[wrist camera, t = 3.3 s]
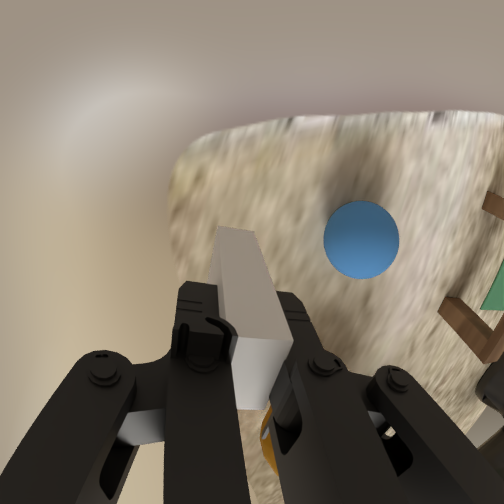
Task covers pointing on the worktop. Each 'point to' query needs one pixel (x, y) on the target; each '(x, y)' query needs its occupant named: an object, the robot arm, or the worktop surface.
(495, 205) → the bridge
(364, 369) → the worktop surface
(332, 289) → the worktop surface
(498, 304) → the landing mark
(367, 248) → the ball
